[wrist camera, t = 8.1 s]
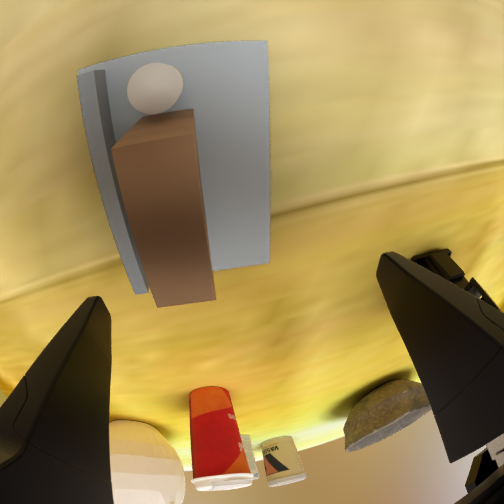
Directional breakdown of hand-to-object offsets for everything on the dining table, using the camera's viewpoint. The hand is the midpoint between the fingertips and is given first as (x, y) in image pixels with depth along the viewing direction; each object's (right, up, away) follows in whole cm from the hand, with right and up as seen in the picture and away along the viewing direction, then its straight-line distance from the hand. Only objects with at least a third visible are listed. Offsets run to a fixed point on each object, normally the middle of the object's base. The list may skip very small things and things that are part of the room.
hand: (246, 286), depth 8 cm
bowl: (+26, -29, +43) cm, 58 cm away
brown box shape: (-5, +6, +8) cm, 11 cm away
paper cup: (-6, -19, +28) cm, 34 cm away
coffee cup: (+6, -45, +50) cm, 68 cm away
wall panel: (-4, +6, +9) cm, 12 cm away
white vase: (-22, -31, +33) cm, 51 cm away
